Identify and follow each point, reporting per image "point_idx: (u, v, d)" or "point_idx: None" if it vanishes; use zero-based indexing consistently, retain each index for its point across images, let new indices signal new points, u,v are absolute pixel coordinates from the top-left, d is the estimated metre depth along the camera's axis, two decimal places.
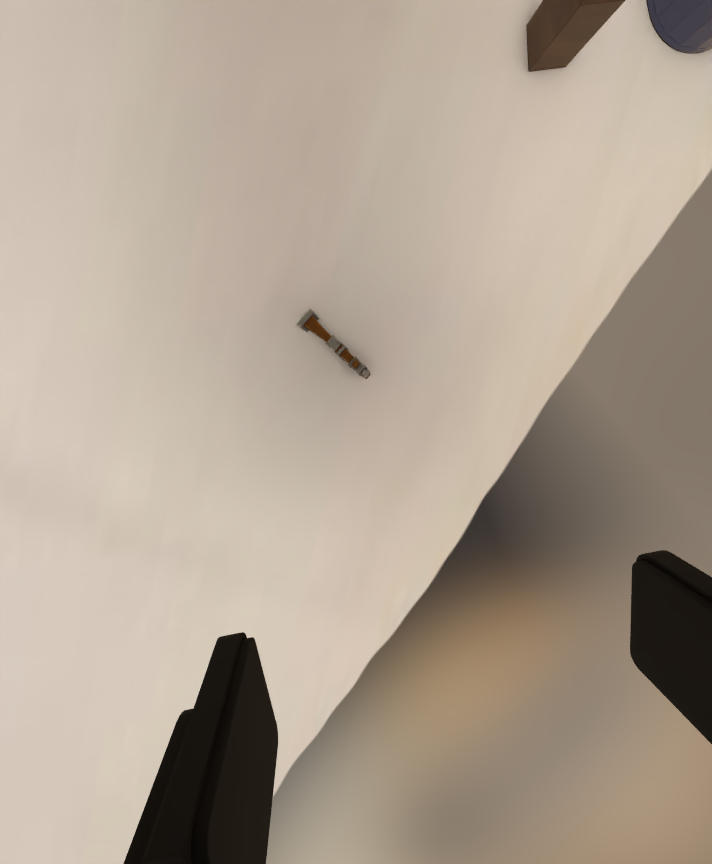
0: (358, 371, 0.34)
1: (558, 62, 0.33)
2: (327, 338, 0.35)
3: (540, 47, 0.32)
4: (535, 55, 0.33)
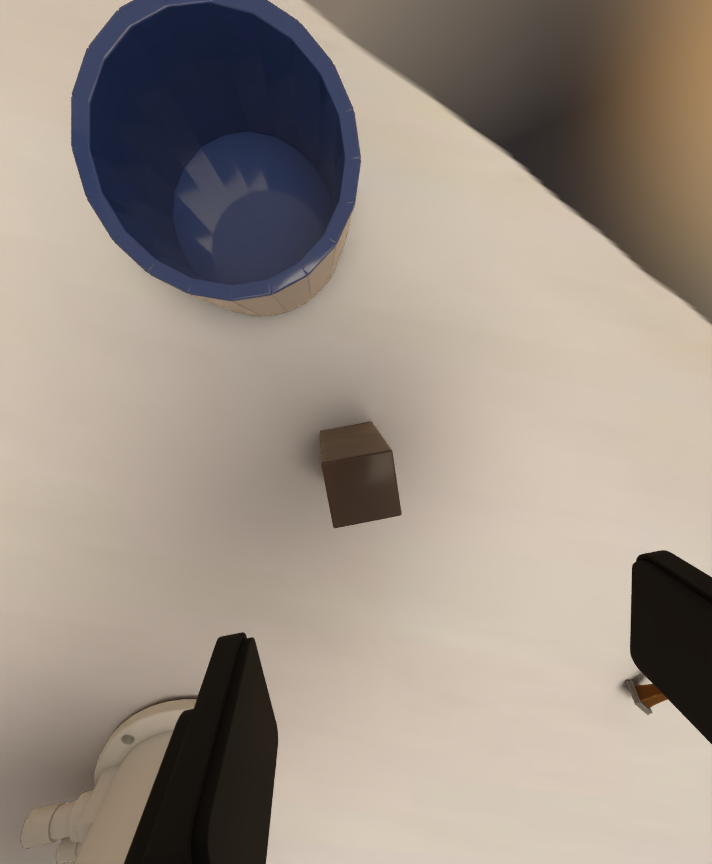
0: None
1: None
2: None
3: None
4: None
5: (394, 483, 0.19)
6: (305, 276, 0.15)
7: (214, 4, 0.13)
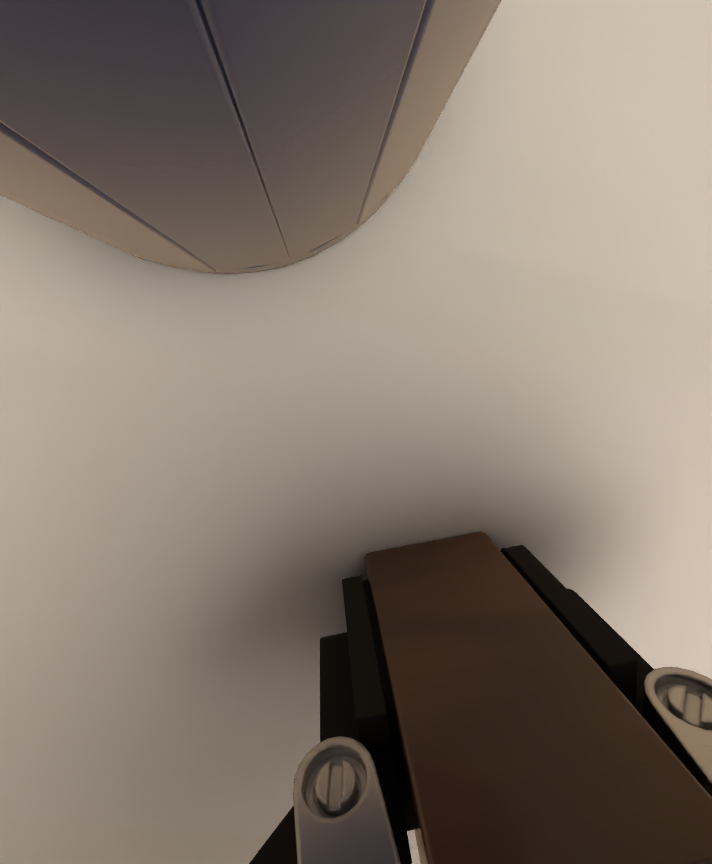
0: None
1: None
2: None
3: None
4: None
5: None
6: None
7: None
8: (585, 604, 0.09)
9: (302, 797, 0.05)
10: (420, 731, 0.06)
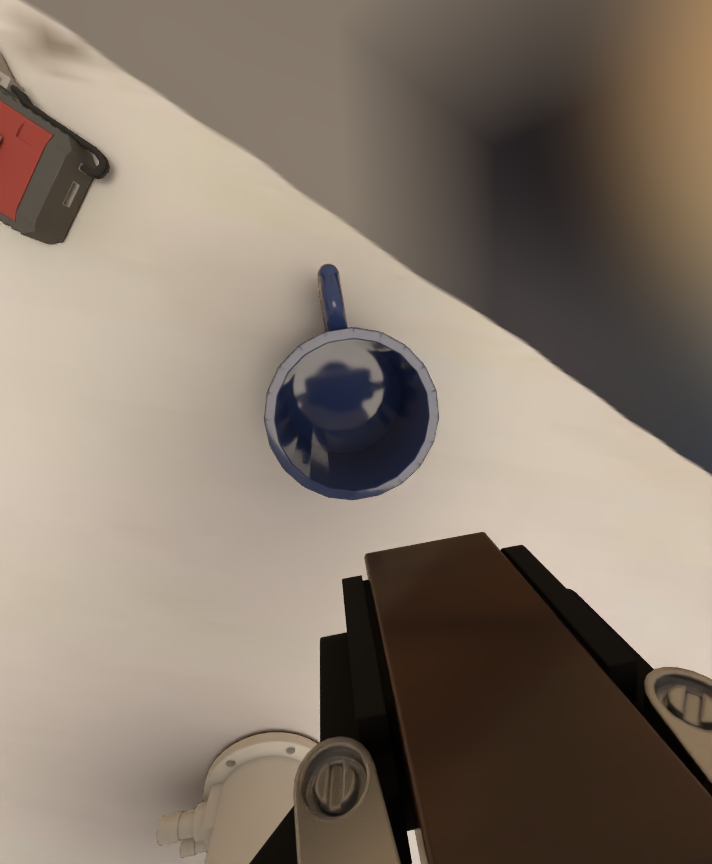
0: None
1: None
2: None
3: None
4: None
5: None
6: None
7: (355, 339, 0.21)
8: (585, 604, 0.09)
9: (302, 797, 0.05)
10: (420, 731, 0.06)
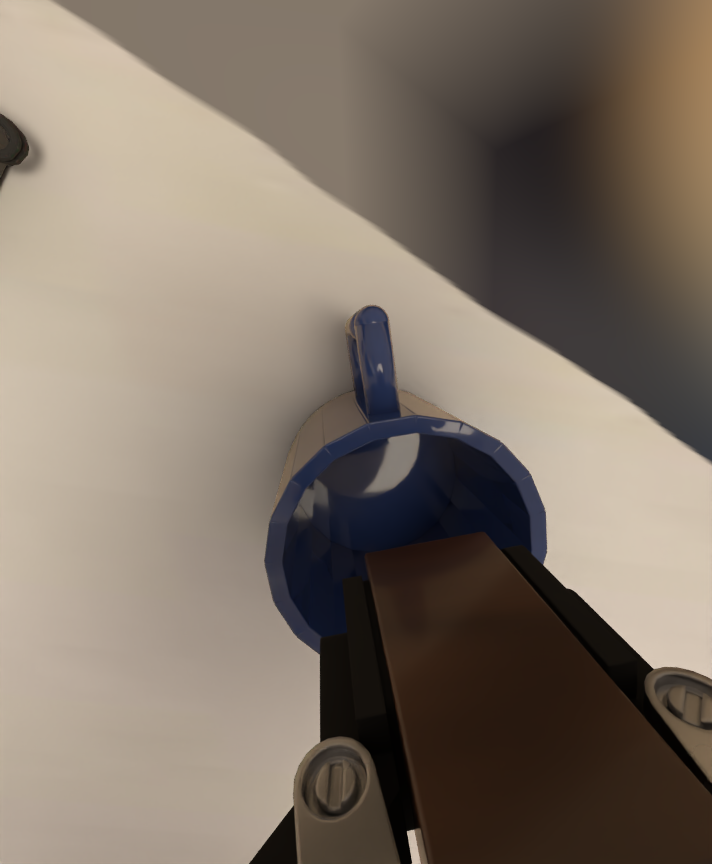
0: None
1: None
2: None
3: None
4: None
5: None
6: None
7: (419, 433, 0.12)
8: (584, 604, 0.09)
9: (302, 797, 0.05)
10: (420, 730, 0.06)
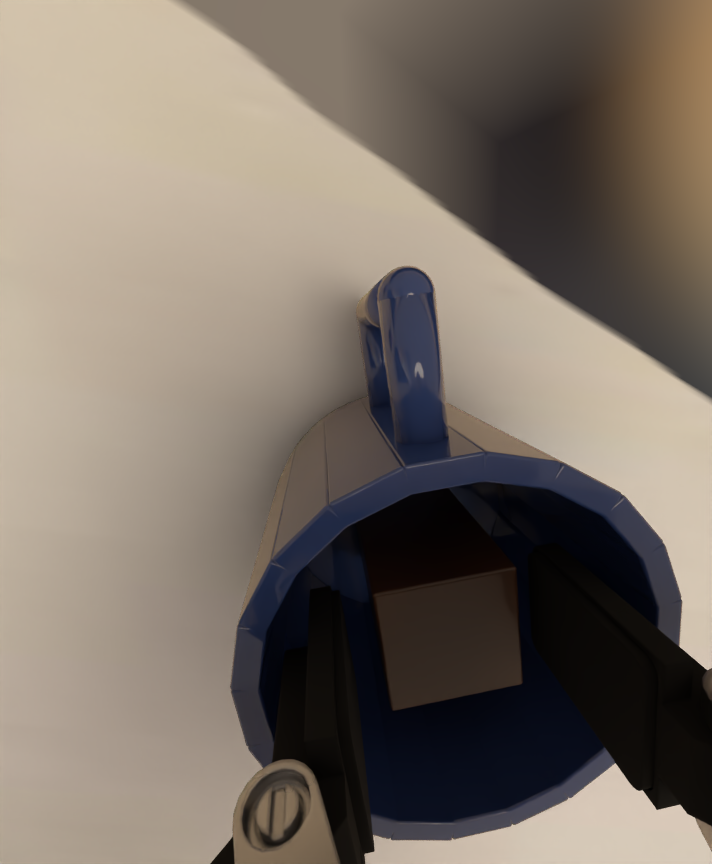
0: None
1: None
2: None
3: None
4: None
5: (515, 628, 0.09)
6: (564, 798, 0.10)
7: (488, 482, 0.07)
8: None
9: (242, 825, 0.05)
10: (372, 546, 0.11)
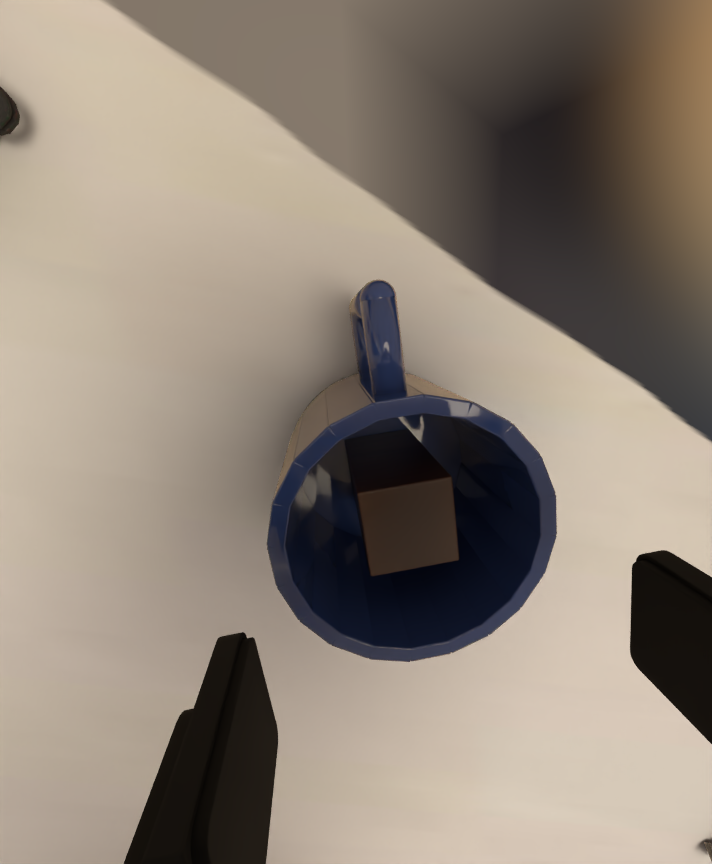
0: None
1: None
2: None
3: None
4: None
5: (452, 519, 0.14)
6: (486, 635, 0.14)
7: (426, 413, 0.12)
8: None
9: None
10: (359, 472, 0.15)
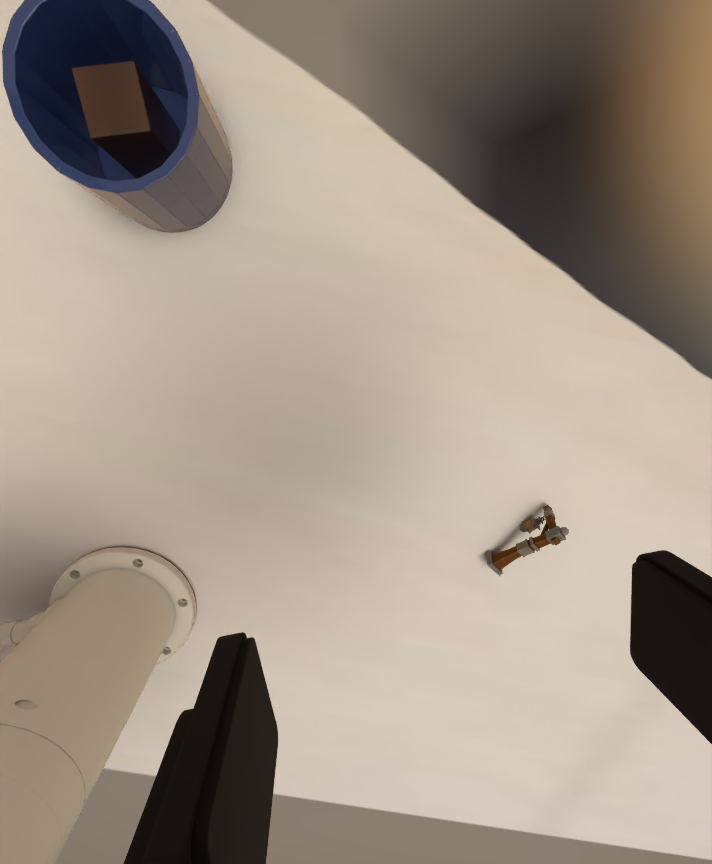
0: (563, 538, 0.34)
1: (179, 140, 0.28)
2: (519, 554, 0.37)
3: None
4: None
5: (139, 95, 0.22)
6: (166, 177, 0.22)
7: None
8: None
9: None
10: None
